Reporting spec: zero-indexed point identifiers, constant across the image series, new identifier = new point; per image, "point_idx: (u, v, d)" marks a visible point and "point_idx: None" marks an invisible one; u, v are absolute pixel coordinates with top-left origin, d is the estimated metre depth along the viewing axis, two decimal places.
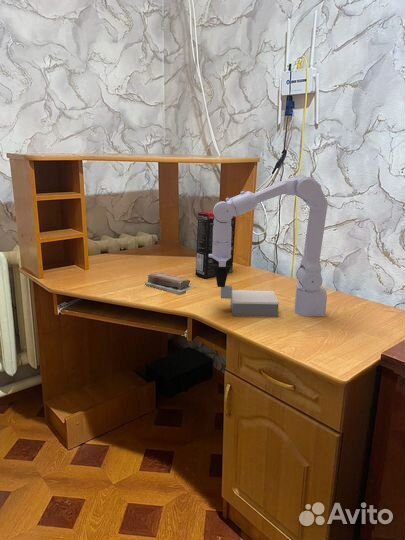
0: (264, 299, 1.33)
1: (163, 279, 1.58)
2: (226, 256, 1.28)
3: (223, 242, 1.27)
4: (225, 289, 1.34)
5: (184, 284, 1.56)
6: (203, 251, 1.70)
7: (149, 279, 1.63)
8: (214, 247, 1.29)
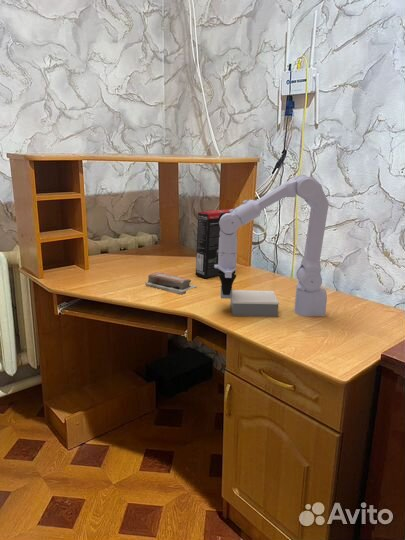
0: (264, 299, 1.33)
1: (164, 279, 1.58)
2: (232, 267, 1.30)
3: (229, 253, 1.29)
4: None
5: (185, 284, 1.57)
6: (203, 251, 1.70)
7: (149, 279, 1.62)
8: (220, 258, 1.31)
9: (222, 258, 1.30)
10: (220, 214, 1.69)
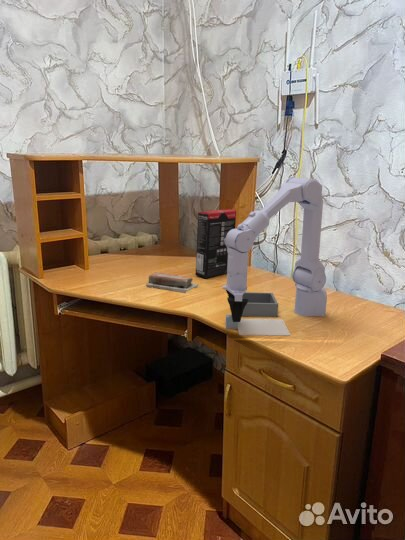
0: (274, 330, 1.20)
1: (166, 279, 1.59)
2: (242, 288, 1.18)
3: (239, 274, 1.16)
4: (230, 319, 1.21)
5: (188, 282, 1.58)
6: (203, 251, 1.70)
7: (150, 280, 1.61)
8: (229, 279, 1.18)
9: (231, 279, 1.17)
10: (220, 214, 1.69)
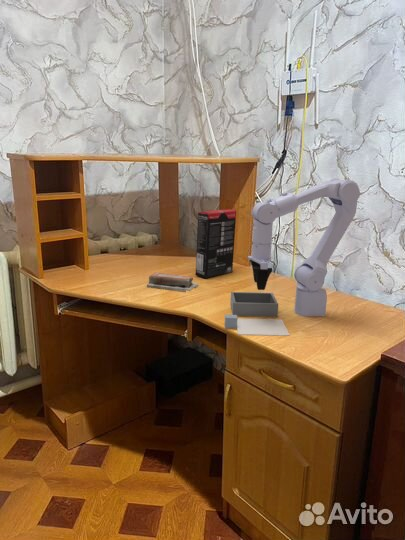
0: (273, 331, 1.20)
1: (167, 279, 1.59)
2: (267, 258, 1.26)
3: (264, 244, 1.24)
4: (230, 319, 1.21)
5: (190, 282, 1.59)
6: (203, 251, 1.70)
7: (150, 280, 1.61)
8: (254, 249, 1.26)
9: (257, 249, 1.25)
10: (220, 214, 1.69)
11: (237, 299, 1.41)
